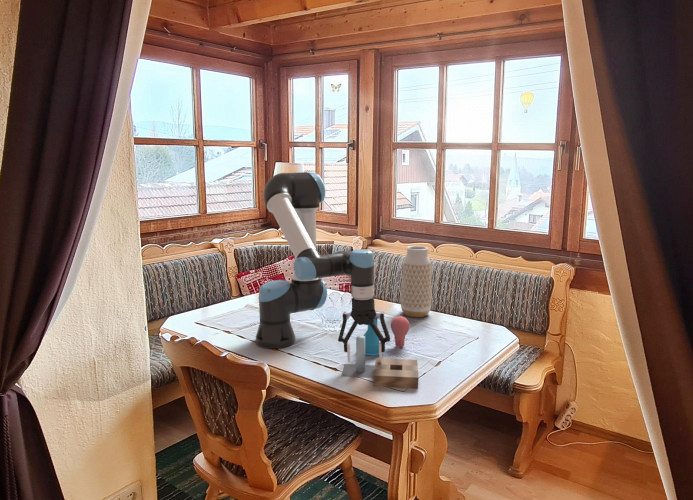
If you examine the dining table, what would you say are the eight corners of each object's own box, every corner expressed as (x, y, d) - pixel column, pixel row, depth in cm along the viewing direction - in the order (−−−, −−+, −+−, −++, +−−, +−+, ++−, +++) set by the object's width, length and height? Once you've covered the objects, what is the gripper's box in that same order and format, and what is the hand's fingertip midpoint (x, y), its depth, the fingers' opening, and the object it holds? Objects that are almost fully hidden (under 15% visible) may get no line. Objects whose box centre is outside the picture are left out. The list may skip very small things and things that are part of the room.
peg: (355, 372, 178) (355, 338, 175) (356, 368, 181) (356, 335, 178) (364, 372, 177) (365, 339, 175) (365, 369, 180) (365, 335, 178)
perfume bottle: (358, 348, 199) (358, 310, 196) (382, 347, 200) (383, 309, 197) (361, 358, 190) (361, 318, 188) (386, 357, 191) (387, 317, 188)
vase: (435, 312, 242) (438, 246, 235) (423, 321, 230) (425, 252, 224) (408, 307, 249) (410, 243, 243) (394, 315, 237) (396, 248, 231)
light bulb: (396, 351, 196) (397, 320, 194) (386, 345, 203) (387, 315, 200) (412, 348, 200) (413, 318, 197) (402, 342, 206) (402, 312, 204)
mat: (341, 377, 175) (341, 376, 175) (344, 364, 185) (344, 363, 184) (377, 379, 174) (377, 378, 174) (378, 366, 183) (378, 365, 183)
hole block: (373, 387, 168) (373, 375, 167) (375, 368, 182) (375, 357, 181) (418, 389, 166) (418, 377, 166) (416, 370, 180) (417, 359, 179)
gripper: (327, 300, 171) (330, 365, 176) (397, 300, 169) (398, 365, 173) (330, 294, 179) (333, 356, 183) (397, 293, 176) (398, 356, 181)
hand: (364, 360), depth 178 cm, fingers open, 10 cm apart
